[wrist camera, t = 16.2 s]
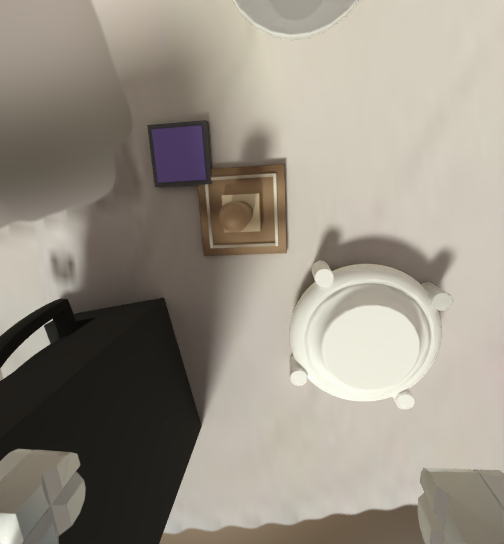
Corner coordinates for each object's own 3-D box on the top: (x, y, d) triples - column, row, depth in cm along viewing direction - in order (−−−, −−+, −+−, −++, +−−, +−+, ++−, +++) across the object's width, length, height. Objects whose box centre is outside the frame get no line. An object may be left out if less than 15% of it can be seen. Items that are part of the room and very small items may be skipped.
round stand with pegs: (472, 350, 47) (504, 377, 40) (330, 419, 52) (337, 453, 45) (391, 214, 43) (411, 218, 36) (248, 303, 48) (241, 321, 42)
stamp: (223, 195, 44) (207, 196, 35) (259, 193, 43) (252, 193, 34) (226, 231, 45) (211, 240, 36) (261, 229, 44) (254, 239, 35)
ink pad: (151, 127, 43) (146, 124, 42) (208, 122, 42) (205, 120, 41) (158, 187, 45) (154, 187, 44) (213, 184, 44) (210, 183, 43)
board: (197, 170, 44) (195, 169, 43) (284, 164, 42) (284, 164, 41) (205, 254, 47) (203, 256, 46) (286, 252, 45) (286, 253, 44)
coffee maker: (48, 293, 51) (-409, 489, 18) (158, 272, 48) (-138, 459, 15) (102, 437, 58) (-159, 785, 24) (203, 426, 55) (68, 806, 21)
